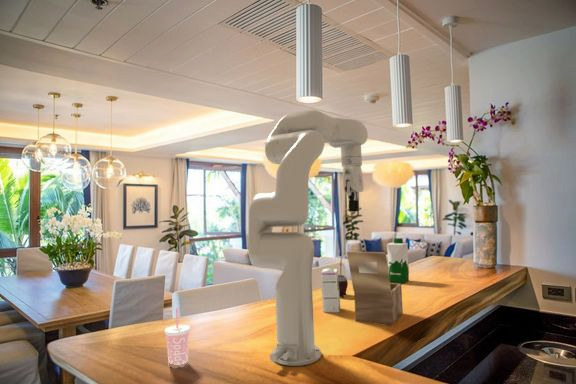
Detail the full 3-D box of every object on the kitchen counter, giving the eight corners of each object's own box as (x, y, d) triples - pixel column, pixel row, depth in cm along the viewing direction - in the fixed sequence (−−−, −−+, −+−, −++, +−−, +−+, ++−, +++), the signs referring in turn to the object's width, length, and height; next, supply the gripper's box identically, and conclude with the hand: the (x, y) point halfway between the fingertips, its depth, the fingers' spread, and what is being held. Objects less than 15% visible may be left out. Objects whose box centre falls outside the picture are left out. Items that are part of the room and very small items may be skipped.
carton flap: (391, 293, 117) (390, 294, 116) (354, 290, 123) (353, 291, 122) (385, 252, 113) (385, 253, 113) (347, 251, 119) (346, 252, 118)
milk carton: (411, 280, 179) (409, 238, 179) (405, 284, 171) (402, 240, 172) (393, 279, 184) (391, 237, 184) (386, 282, 176) (384, 239, 177)
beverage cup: (162, 370, 92) (160, 312, 92) (170, 359, 98) (168, 305, 98) (187, 369, 92) (185, 311, 92) (193, 358, 98) (191, 304, 98)
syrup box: (339, 312, 133) (337, 271, 133) (322, 312, 134) (320, 271, 134) (340, 308, 138) (338, 268, 139) (324, 307, 139) (322, 268, 140)
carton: (393, 325, 117) (391, 293, 117) (355, 321, 122) (354, 290, 123) (402, 313, 129) (401, 283, 129) (368, 309, 135) (366, 281, 135)
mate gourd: (335, 298, 152) (333, 261, 152) (327, 294, 159) (325, 258, 160) (352, 296, 154) (350, 259, 155) (343, 292, 162) (341, 257, 162)
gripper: (354, 160, 134) (357, 211, 133) (367, 163, 147) (369, 210, 146) (334, 161, 137) (337, 212, 137) (348, 164, 150) (351, 210, 150)
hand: (353, 211), depth 142 cm, fingers closed
